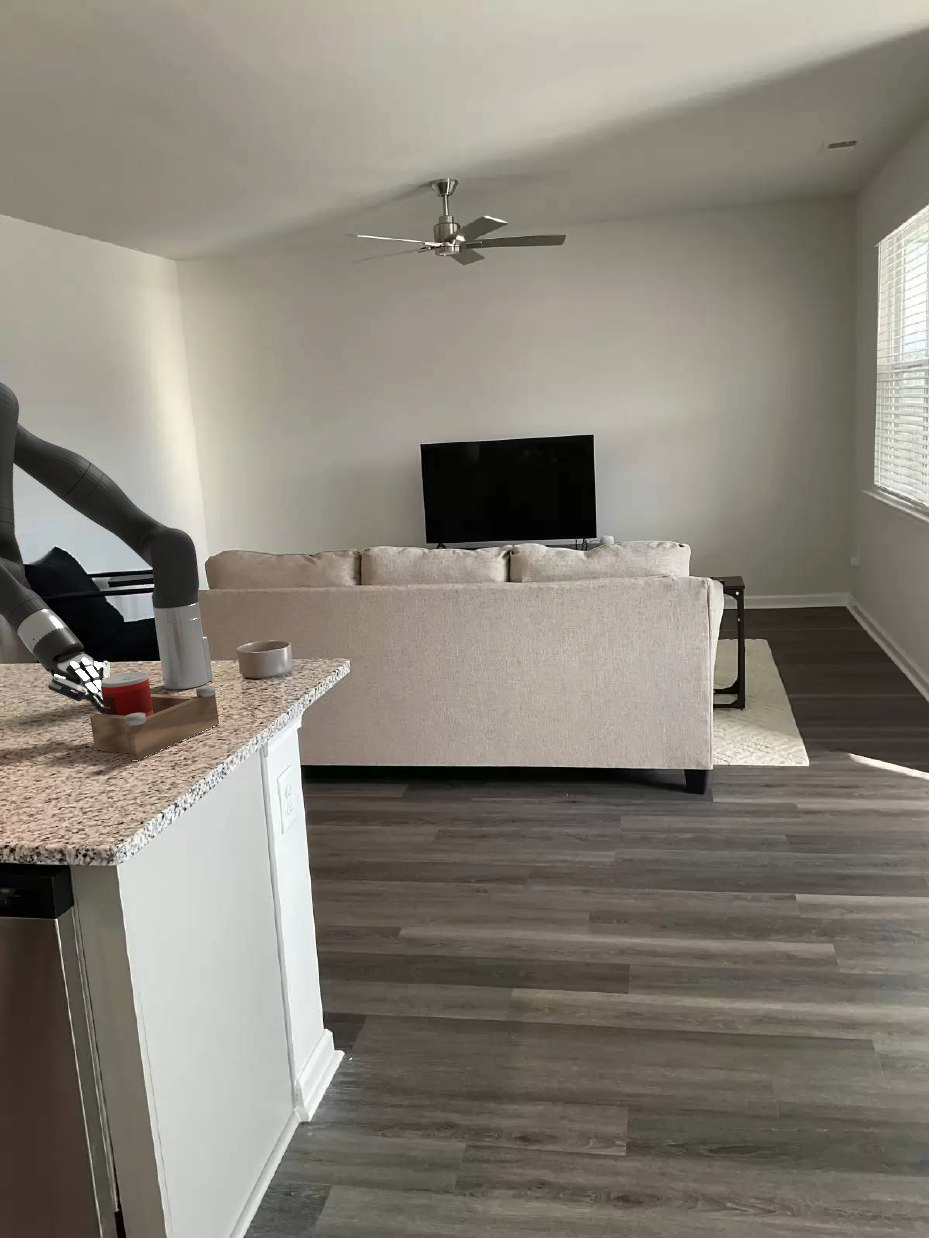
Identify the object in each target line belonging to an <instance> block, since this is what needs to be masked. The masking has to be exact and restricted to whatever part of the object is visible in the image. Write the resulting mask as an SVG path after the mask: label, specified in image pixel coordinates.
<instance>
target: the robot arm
mask: <svg viewBox="0 0 929 1238" xmlns="http://www.w3.org/2000/svg"><path fill="white" fill-rule="evenodd" d="M19 416H20V404H19V400H18V398H17V396H16V394H15V393H14V391H13V390H12V389H11V388H10V387H9V386H7V385H6V384H4V383H3V382H0V615H1V616H2V617H3V618H4V620H6V622H7V623H8V624H9V626H11V628H12V629H13V630H14V632H16V634H17V635H18V637H19V638H20V639H21V641H22V642H23V643H22V644H23V645H24V646H25V647H26V649H28V650H29V653H31V654H32V655H33V657H34V658H35V659H36V660H37V662H39V663H40V664H41V666H42V667H43V668H44V669H45V671H46V672H48V673H50V674H51V677H52V679H51V681H50V682H49V684H48V685H47V688H48V690H50V691H52V692H55V693H57V694H59V695H63V696H65V697H66V698H69V699H72V700H74V701H76V702H81V701H82V700H85V701H86V702H90V703H91V704H92V705H93V707H94V708H95V710H97V712H99V714H105V712H104V705H103V699H102V692H101V680H103V679H105V678H107V677H110V676H111V664H110V662H109V661H107V660H103V662H98V661H95V660H94V658H93V657H92V656H90V655H88V654H87V653H86V651H85V647H84V644H83V643H82V642H81V641H80V640H79V638H78V637H77V636H76V635H75V633H73V631H72V629H70V628H69V626H68V625H67V624H66V623H65V622H64V621H63V620H62V618H60V616H58V615H57V614H56V613H55V612H54V611H53V610H52V609H51V608H50V607H49V606H48V604H47V603H46V602H45V601H44V600H43V599H42V597H41V596H40V595H39V594H38V593H37V592H35V590H32V589H29V588H27V587H26V586H24V583H25V578H26V577H25V576H26V572H25V564H24V561H23V560H24V559H23V556H22V553H21V549H20V546H19V543H18V539H17V538H16V534H15V533H16V532H15V531H16V529H15V528H16V524H15V504H14V503H15V502H14V465H15V466H17V467H18V468H20V469H21V470H22V471H23V472H25V473H26V474H27V475H28V476H30V477H32V478H33V479H34V480H36V481H37V482H38V483H39V484H41V485H42V486H44V487H45V488H46V489H47V490H49V491H50V492H52V494H54V495H55V496H56V497H58V498H59V499H61V500H62V501H63V502H65V504H67V505H68V506H70V507H71V508H73V509H74V510H76V511H77V512H79V513H80V514H81V515H82V516H84V517H86V518H87V519H88V520H90V521H92V522H94V523H95V524H96V525H99V526H100V527H102V528H104V529H105V530H107V531H108V532H109V533H112V534H114V536H115V537H118V538H119V539H120V540H121V541H122V542H123V543H124V544H125V545H127V546H128V547H129V548H130V549H132V551H134V552H135V554H136V555H137V556H139V557H140V559H142V560H143V561H144V562H145V563H146V565H148V566H149V567H150V568H151V569H152V577H153V592H152V594H151V601H152V607H153V609H152V610H153V616H154V623H155V631H156V638H157V639H156V640H157V645H158V651H159V659H160V666H161V672H162V673H161V674H162V680H163V687H164V688H165V689H168V690H184V689H191V688H196V687H197V688H198V687H201V686H204V685H206V684H207V683H209V682H210V681H213V680H214V678H213V671H212V670H213V669H212V661H211V654H210V653H211V652H210V647H209V638H208V637H207V636H206V635H205V636H204V632H203V626H202V624H203V623H202V618H201V609H200V603H199V591H200V578H199V568H198V567H199V566H198V558H197V551H196V550H197V549H196V546H195V543H194V541H193V539H192V537H191V536H190V535H189V534H188V533H187V532H185V531H184V530H182V529H178V528H175V527H168V526H167V525H164V524H163V523H161V522H159V521H158V520H156V519H155V518H154V517H152V516H150V515H149V514H147V512H144V511H143V510H141V509H140V508H139V507H138V506H137V505H136V504H135V503H134V502H133V501H132V500H131V498H129V497H128V495H127V494H126V493H125V492H124V491H123V489H121V487H120V486H119V485H118V484H117V483H116V482H115V481H114V480H113V479H112V478H111V477H110V476H109V475H108V474H106V473H105V472H104V471H103V470H101V469H100V468H99V467H98V466H96V465H95V464H94V463H92V462H91V461H90V460H89V459H86V458H85V457H84V456H82V455H80V454H79V453H77V452H74V451H72V450H69V449H67V448H65V447H62V446H60V445H56V444H53V443H51V442H49V441H46V440H44V439H43V438H40V437H38V436H36V435H35V434H33V432H30V431H29V430H27V429H26V428H25V427H24V426H22V424H20V423H19Z"/></svg>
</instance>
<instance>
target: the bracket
mask: <svg viewBox="0 0 929 1238" xmlns="http://www.w3.org/2000/svg"><path fill="white" fill-rule="evenodd" d="M195 693H196V696H189V695H174V694H173V695H170V694H158V693H157V694H156V693H155V694H154V693H151V700H152V707H153V715H150V716H148V717H146V715H145V713H133V714H129V715H127V716H122V715H108V714H102V713H95V714H92V715H89V721H90V725H91V732H92V733H91V734H92V739H93V745H94V746H93V747H94V751H95V750H101V751H100V752H106V751H109V752H108V753H116V752H119V753H118V754H127V753H130V754H129V757H130V761H131V760H141V759H143V758H144V757H146V756H149V755H151V754H153V753H156V752H158V751H160V750H161V749H165V748H167V747H168V746H172V745H174V744H175V743H179V742H181V741H182V740H184V739H187V740H189V739H188V738H189V737H191V736H194V735H196V734H198V733H199V732H202V731H205V730H206V729H209V728H211V727H213V726H216V725H218V724H219V725H220V722H219V721H220V720H219V714H218V713H219V712H218V704H217V696H216V687H215V685H201V686H198V687H197V688H195ZM216 727H217V726H216ZM205 732H206V731H205ZM196 736H197V735H196ZM194 737H195V736H194ZM181 743H182V742H181ZM179 744H180V743H179ZM174 746H175V745H174ZM172 747H173V746H172ZM167 749H168V748H167ZM165 750H166V749H165ZM120 752H121V753H120ZM156 754H157V753H156ZM143 760H144V759H143ZM141 761H142V760H141Z"/></svg>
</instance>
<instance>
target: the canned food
mask: <svg viewBox="0 0 929 1238" xmlns="http://www.w3.org/2000/svg"><path fill="white" fill-rule="evenodd" d="M101 692H102V699H103V705H104V712H105V714H108V715H122V716H127V715H129V714H133V713H145V715H146V717H148V716H150V715H153V707H152V700H151V694H152V693H151V687H150V680H149V676H148V673H146V672H142V671H137V672H136V671H133V672H125V673H119V674H114V675H110V677H107V678H105V679H103V680H101Z"/></svg>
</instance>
